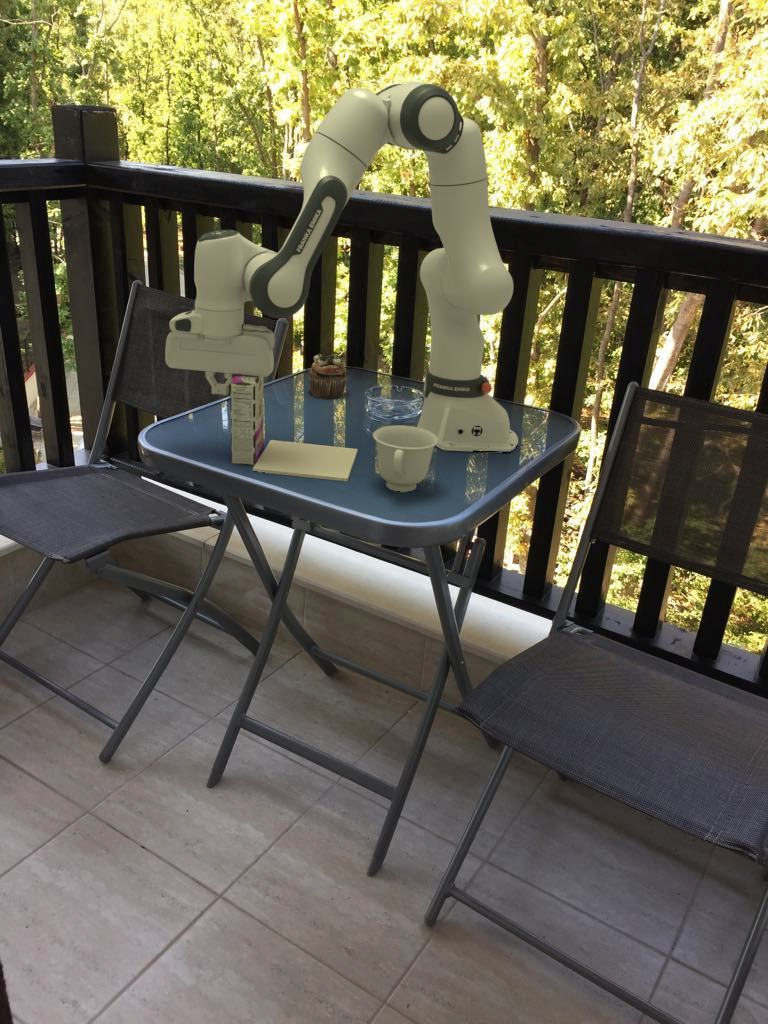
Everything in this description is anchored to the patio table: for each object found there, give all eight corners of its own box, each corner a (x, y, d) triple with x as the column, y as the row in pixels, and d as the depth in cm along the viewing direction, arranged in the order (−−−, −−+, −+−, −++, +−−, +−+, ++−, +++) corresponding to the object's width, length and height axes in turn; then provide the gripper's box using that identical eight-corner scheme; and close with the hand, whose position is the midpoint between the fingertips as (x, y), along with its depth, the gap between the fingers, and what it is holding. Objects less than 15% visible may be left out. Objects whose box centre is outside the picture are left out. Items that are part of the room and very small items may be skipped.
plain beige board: (357, 451, 176) (357, 448, 176) (347, 481, 161) (347, 478, 161) (270, 442, 177) (270, 439, 176) (252, 471, 162) (252, 468, 162)
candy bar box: (239, 444, 175) (239, 365, 168) (263, 446, 175) (265, 367, 168) (229, 464, 165) (229, 381, 158) (255, 466, 165) (256, 383, 158)
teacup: (360, 500, 154) (363, 448, 150) (375, 470, 167) (379, 421, 163) (426, 509, 152) (432, 457, 148) (437, 479, 166) (442, 429, 162)
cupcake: (353, 398, 208) (355, 357, 204) (315, 401, 204) (317, 360, 200) (337, 386, 216) (339, 347, 212) (301, 389, 212) (302, 349, 208)
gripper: (278, 323, 162) (277, 394, 167) (171, 313, 163) (174, 384, 168) (271, 331, 156) (270, 404, 162) (160, 320, 157) (163, 393, 163)
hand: (220, 394), depth 165 cm, fingers closed
